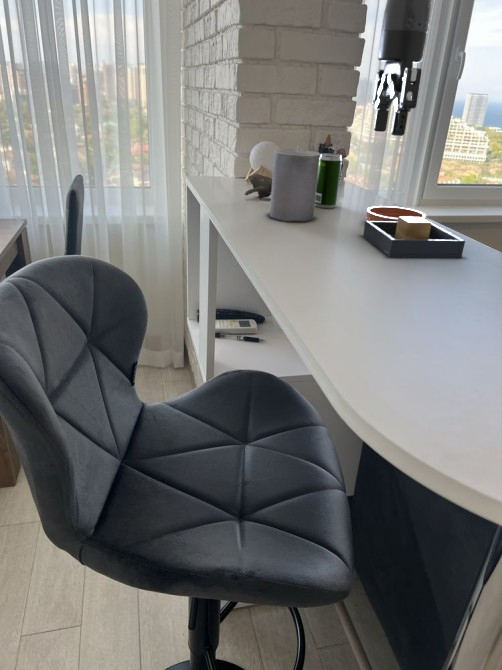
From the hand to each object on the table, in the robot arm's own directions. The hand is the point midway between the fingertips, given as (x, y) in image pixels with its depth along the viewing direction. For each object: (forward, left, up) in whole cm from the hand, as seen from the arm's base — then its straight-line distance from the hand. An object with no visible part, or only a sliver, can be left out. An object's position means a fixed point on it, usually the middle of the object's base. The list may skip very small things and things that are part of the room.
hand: (388, 133), depth 92 cm
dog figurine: (+15, -34, -19) cm, 42 cm away
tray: (-5, +7, -19) cm, 21 cm away
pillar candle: (+13, -15, -19) cm, 28 cm away
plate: (-8, -8, -19) cm, 22 cm away
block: (-5, +7, -18) cm, 20 cm away
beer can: (+2, -27, -19) cm, 33 cm away
